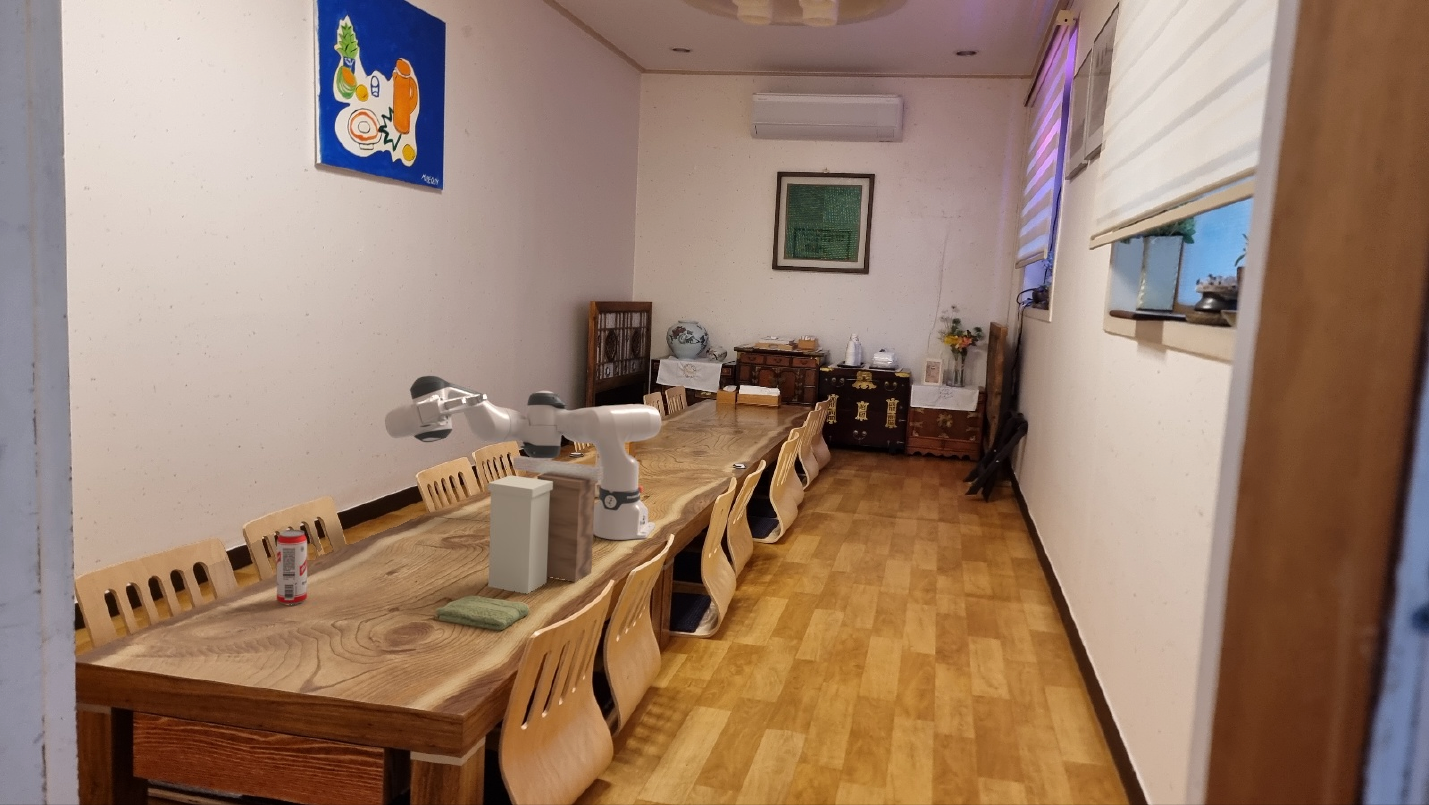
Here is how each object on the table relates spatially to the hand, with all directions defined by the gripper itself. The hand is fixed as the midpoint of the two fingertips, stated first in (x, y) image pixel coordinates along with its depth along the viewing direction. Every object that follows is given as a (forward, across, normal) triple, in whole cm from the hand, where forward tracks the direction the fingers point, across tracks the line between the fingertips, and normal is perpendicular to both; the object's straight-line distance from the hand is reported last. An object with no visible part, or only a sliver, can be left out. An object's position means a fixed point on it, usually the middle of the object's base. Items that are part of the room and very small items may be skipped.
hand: (474, 398), depth 255 cm
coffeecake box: (-17, -81, -39) cm, 92 cm away
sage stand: (+10, +17, -48) cm, 52 cm away
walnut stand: (+14, +4, -50) cm, 52 cm away
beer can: (-24, +53, -35) cm, 68 cm away
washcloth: (+14, +38, -51) cm, 65 cm away
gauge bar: (+21, +4, -25) cm, 33 cm away
